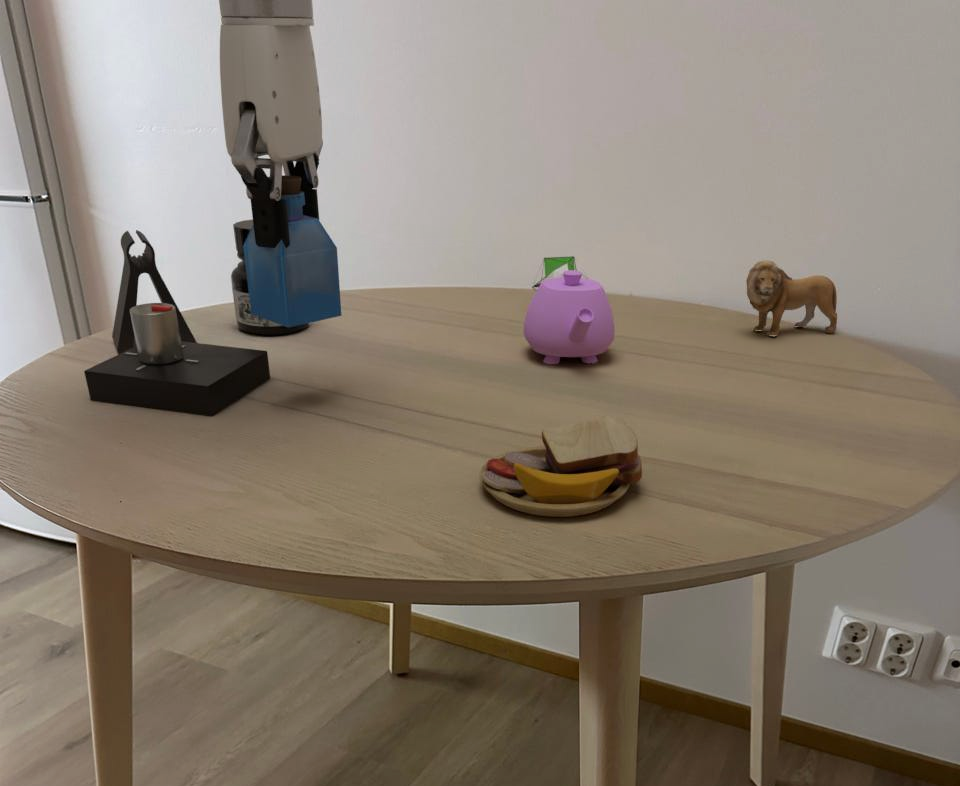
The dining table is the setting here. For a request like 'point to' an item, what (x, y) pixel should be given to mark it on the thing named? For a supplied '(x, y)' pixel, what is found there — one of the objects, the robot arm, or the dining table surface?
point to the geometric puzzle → (556, 267)
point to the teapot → (569, 319)
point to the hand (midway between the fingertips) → (288, 238)
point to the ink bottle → (242, 293)
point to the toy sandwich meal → (567, 470)
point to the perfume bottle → (294, 268)
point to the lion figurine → (789, 295)
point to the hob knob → (156, 333)
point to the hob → (180, 379)
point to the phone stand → (129, 289)
